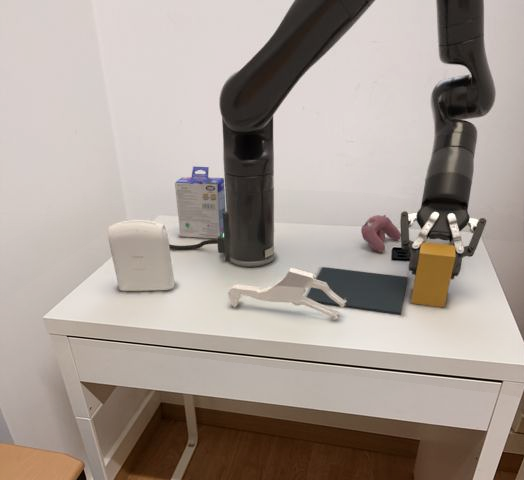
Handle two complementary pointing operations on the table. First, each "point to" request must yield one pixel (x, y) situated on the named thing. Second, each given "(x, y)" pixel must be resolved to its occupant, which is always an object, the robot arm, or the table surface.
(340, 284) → the mat
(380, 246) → the video game controller
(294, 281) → the llama figurine
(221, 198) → the ink cartridge box
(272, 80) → the robot arm
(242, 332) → the table surface
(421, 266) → the block
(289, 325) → the table surface
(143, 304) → the table surface
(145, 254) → the photo printer
